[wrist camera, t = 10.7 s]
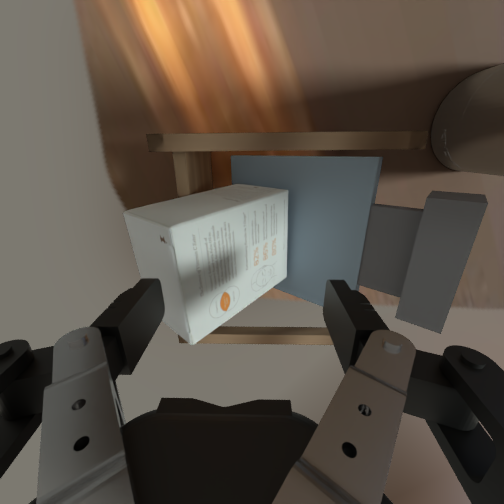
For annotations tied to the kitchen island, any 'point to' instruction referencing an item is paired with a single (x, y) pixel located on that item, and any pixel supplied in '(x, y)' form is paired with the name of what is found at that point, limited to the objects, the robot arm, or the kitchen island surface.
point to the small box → (211, 252)
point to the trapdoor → (367, 233)
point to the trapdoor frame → (200, 144)
